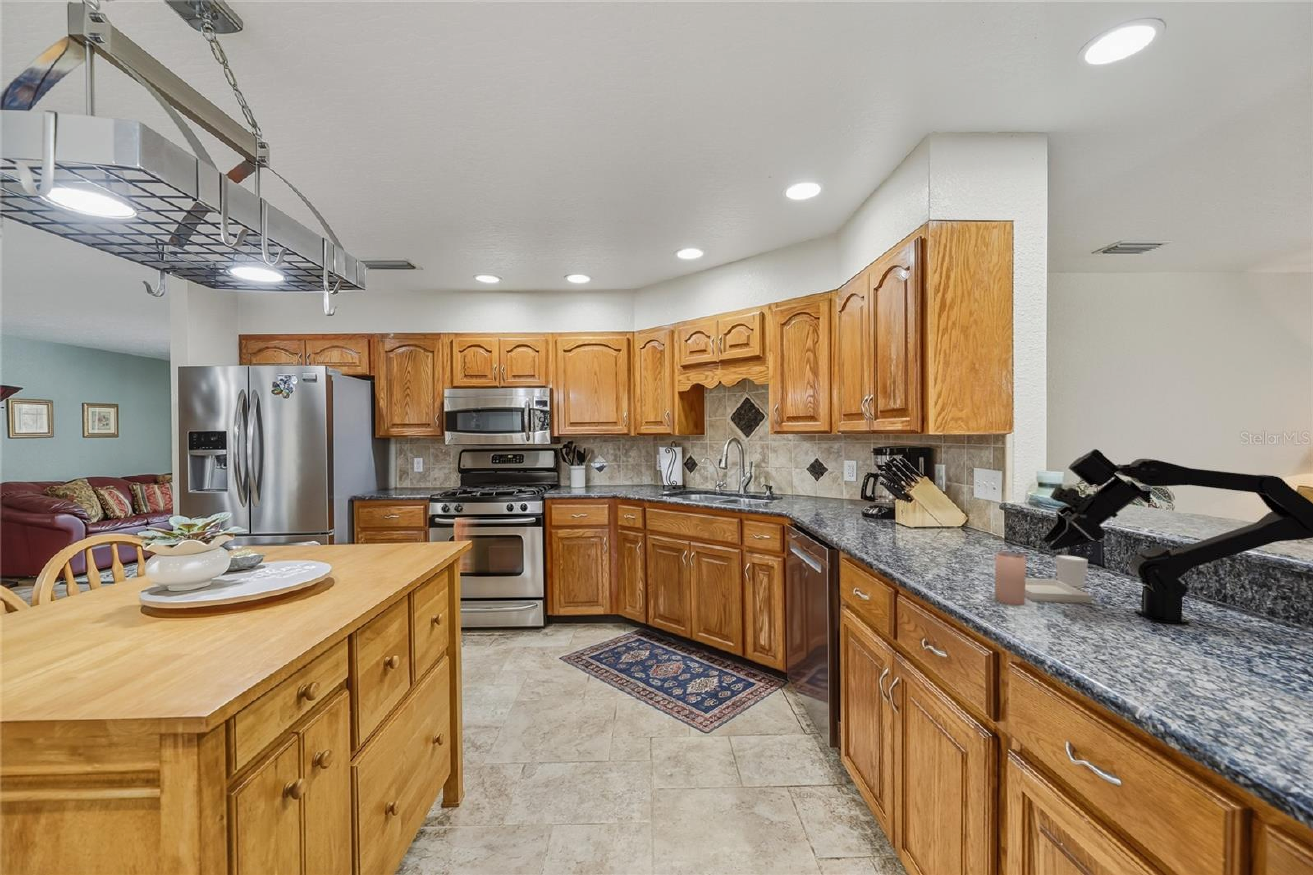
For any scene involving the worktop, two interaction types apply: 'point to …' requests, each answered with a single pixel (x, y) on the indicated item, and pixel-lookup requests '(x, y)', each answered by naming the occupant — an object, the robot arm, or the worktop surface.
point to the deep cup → (1010, 578)
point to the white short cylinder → (1071, 570)
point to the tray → (1054, 592)
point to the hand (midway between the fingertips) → (1047, 545)
